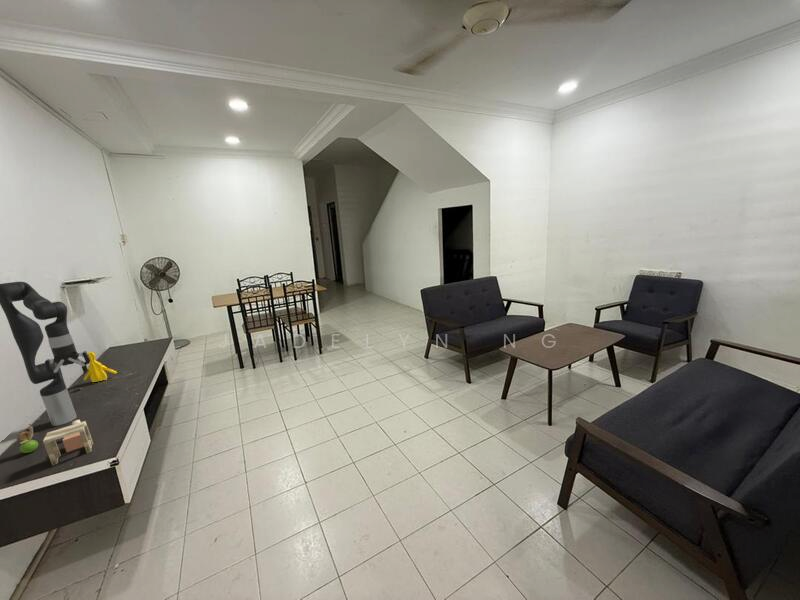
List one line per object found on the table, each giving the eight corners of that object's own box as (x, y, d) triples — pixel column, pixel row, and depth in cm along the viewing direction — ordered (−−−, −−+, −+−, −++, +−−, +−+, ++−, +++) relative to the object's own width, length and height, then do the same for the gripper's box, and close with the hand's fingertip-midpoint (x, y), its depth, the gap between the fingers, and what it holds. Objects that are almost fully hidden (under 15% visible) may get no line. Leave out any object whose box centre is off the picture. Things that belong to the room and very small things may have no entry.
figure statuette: (119, 375, 221) (110, 346, 216) (115, 379, 214) (106, 349, 209) (86, 382, 213) (75, 352, 208) (81, 387, 206) (70, 356, 201)
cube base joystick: (72, 436, 152) (67, 422, 150) (89, 430, 156) (84, 417, 154) (66, 452, 140) (61, 437, 139) (85, 445, 144) (80, 431, 142)
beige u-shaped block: (56, 456, 138) (47, 432, 135) (93, 443, 145) (85, 420, 142) (52, 465, 132) (42, 441, 130) (91, 451, 139) (82, 428, 137)
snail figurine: (45, 445, 147) (36, 423, 144) (30, 455, 140) (20, 432, 138) (34, 446, 146) (24, 424, 144) (18, 456, 140) (8, 433, 138)
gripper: (84, 338, 154) (94, 368, 158) (42, 346, 145) (53, 378, 149) (81, 342, 148) (92, 373, 152) (37, 351, 140) (49, 383, 143)
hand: (73, 375), depth 151 cm, fingers open, 8 cm apart
